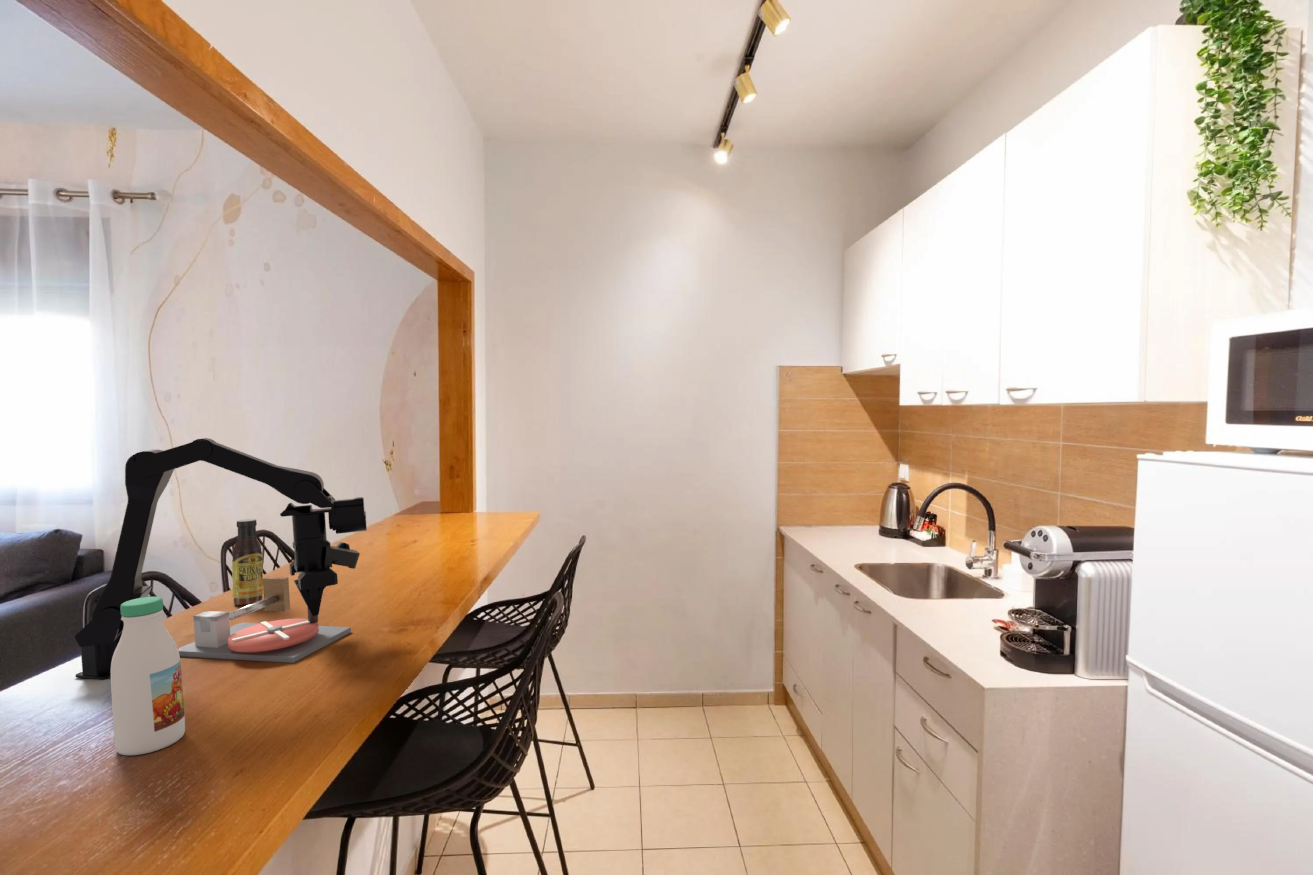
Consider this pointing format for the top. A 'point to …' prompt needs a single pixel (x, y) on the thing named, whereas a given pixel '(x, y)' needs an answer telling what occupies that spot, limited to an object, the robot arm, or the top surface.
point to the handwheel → (274, 634)
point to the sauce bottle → (247, 565)
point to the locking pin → (268, 598)
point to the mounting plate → (214, 644)
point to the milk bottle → (146, 681)
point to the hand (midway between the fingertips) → (315, 615)
